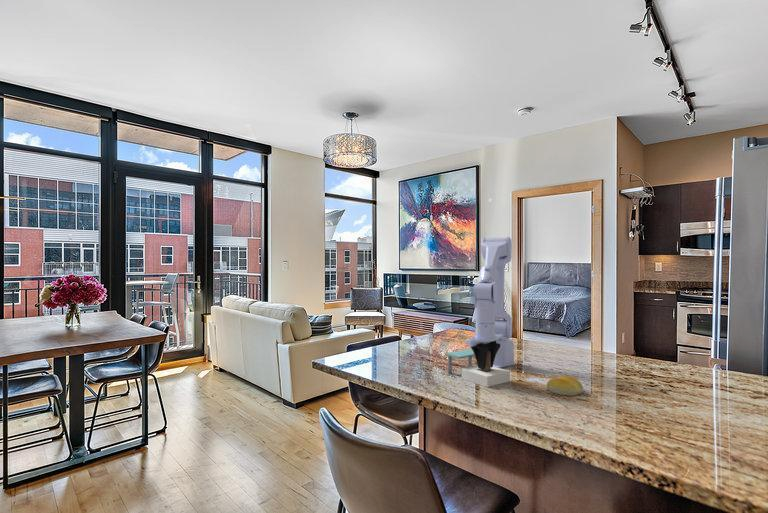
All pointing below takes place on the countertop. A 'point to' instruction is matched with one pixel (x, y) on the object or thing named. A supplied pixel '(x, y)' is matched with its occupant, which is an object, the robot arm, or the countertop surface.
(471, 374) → the socket block
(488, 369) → the peg
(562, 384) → the bread roll
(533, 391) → the countertop surface
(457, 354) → the awning
